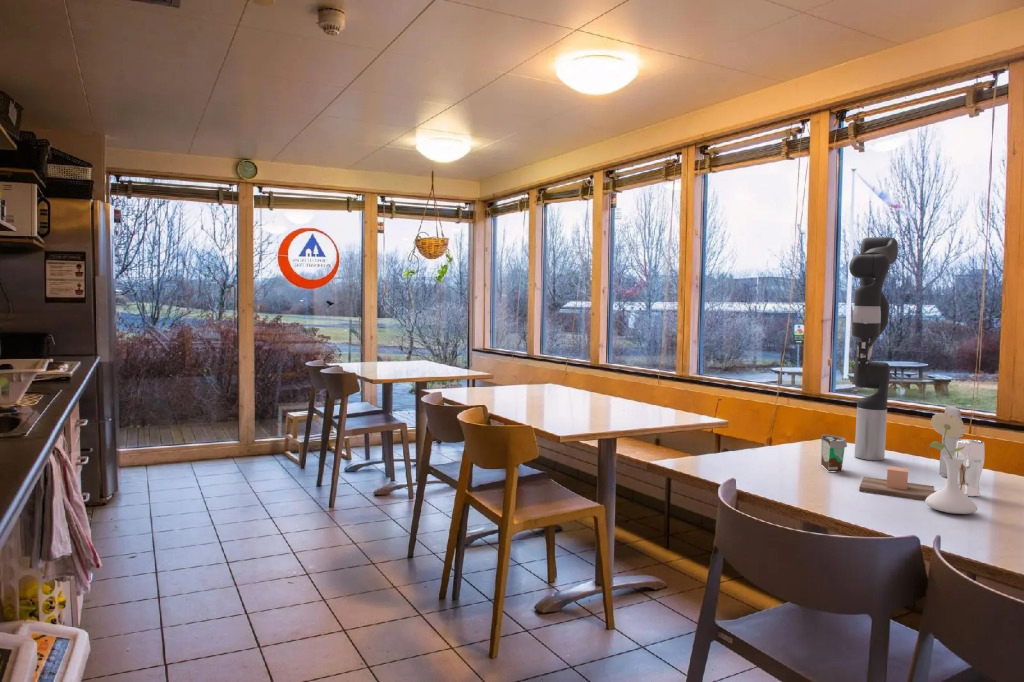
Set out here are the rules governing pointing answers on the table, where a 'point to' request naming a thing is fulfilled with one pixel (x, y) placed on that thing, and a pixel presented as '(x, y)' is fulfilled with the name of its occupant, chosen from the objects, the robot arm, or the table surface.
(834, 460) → the food container
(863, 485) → the walnut board
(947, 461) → the flower in vase
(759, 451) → the table surface
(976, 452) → the beer glass
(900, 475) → the terracotta cube
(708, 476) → the table surface
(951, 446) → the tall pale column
